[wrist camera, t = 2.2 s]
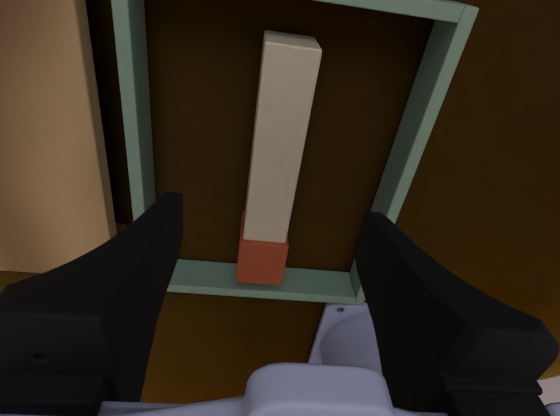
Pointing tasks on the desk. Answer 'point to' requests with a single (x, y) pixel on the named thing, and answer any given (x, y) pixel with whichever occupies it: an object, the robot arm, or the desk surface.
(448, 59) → the rectangular frame
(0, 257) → the l-shaped wooden board
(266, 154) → the white bar red tip
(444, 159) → the desk surface
